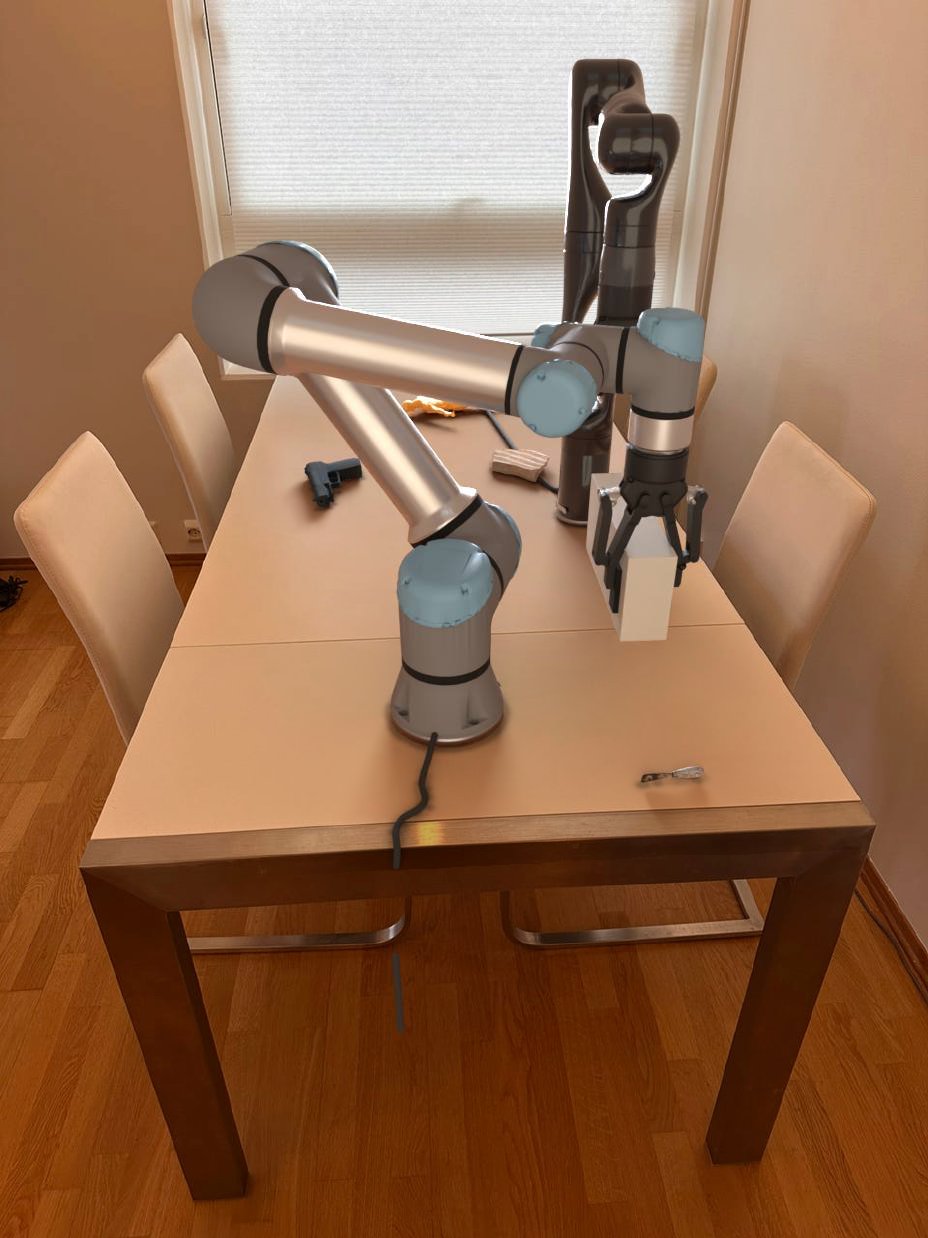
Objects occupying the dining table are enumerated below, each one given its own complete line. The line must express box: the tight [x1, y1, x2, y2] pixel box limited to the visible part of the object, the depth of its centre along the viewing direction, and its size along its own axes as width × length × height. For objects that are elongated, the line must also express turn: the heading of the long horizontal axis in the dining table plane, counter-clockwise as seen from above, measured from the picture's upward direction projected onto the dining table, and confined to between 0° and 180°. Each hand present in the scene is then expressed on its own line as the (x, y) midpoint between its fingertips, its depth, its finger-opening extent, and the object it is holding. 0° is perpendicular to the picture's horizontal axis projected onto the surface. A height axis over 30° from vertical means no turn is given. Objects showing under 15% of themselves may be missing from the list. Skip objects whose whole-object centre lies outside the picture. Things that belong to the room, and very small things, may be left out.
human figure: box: [401, 396, 469, 418], centre depth 225 cm, size 20×20×4 cm
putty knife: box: [640, 765, 705, 784], centre depth 109 cm, size 1×8×2 cm, turn 103°
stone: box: [489, 448, 550, 483], centre depth 192 cm, size 13×12×2 cm
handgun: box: [303, 457, 363, 509], centre depth 184 cm, size 3×18×12 cm
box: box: [585, 472, 678, 642], centre depth 126 cm, size 27×6×12 cm, turn 3°
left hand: (639, 607), depth 120 cm, fingers closed on box, 6 cm apart
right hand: (616, 395), depth 131 cm, fingers open, 8 cm apart
